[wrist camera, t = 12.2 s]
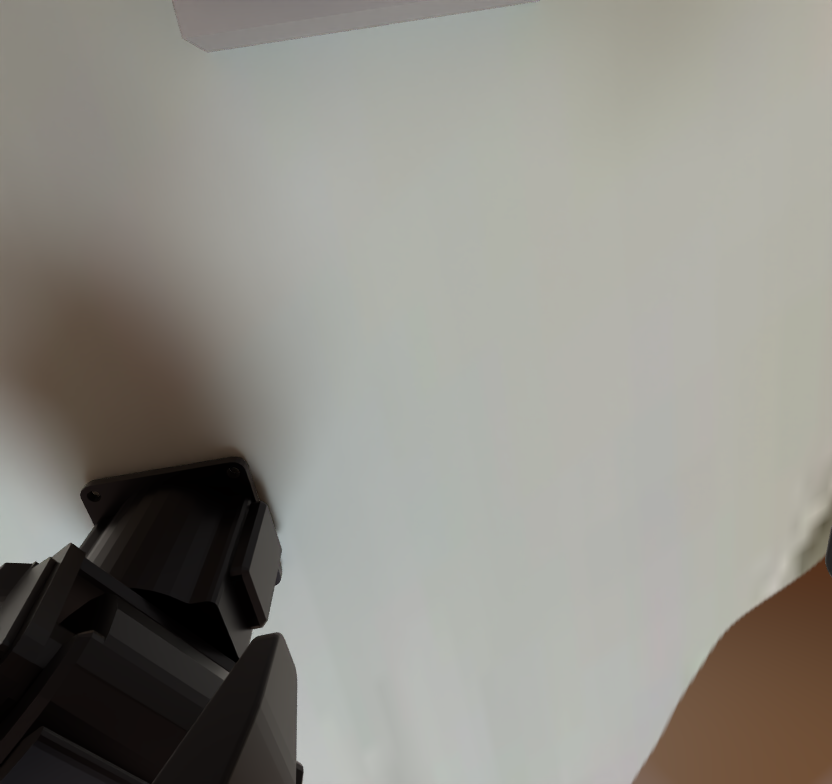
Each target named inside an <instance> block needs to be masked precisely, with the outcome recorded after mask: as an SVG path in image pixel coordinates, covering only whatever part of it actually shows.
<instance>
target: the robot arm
mask: <svg viewBox="0 0 832 784" xmlns="http://www.w3.org/2000/svg"><path fill="white" fill-rule="evenodd" d="M231 467H233V468H237V469H238V470H239V471H240V472H238V473H234V472H232V471H230V469H229V468H231ZM92 491H95V492H98V493H99V494H100V495H101V496H97V495H95V494H93V492H92ZM80 496H81V499H82V501H83V503H84V505H85V507H86V509H87V511H88V513H89V515H90V517H91V519H92V521H93V523H94V528H93V529H92V531H91V532H90V533H89V535H88V536H87V538H86V539H85V541H84V542H83V543H82V545H81V546H80V548H78V547H77V546H75V545H74V544H72V543H69V544H68V545H67V546H65V547H64V548H63V549H61V550H60V551H59V552H58V553H56V554H55V555H54V556H53V557H49V558H47V559H46V560H44V561H43V562H41V563H40V564H39V563H37V562H36V561H35V562H34V563H33V564H27V563H5V564H3V565H2V566H1V567H0V784H302V782H303V766H302V764H301V763H299V762H298V761H296V739H297V673H296V668H295V665H294V662H293V660H292V657H291V654H290V652H289V649H288V647H287V644H286V641H285V639H284V637H283V635H282V634H281V633H277V632H276V633H271V634H266V635H261V636H257V637H255V638H254V639H253V640H252V641H251V643H250V639H251V635H252V631H253V629H256V628H262V627H263V626H264V625H265V623H266V622H267V620H268V616H269V611H270V606H271V601H272V597H273V592H274V587H275V585H277V584H278V583H279V582H280V580H281V576H282V568H281V565H280V557H281V552H282V548H281V545H280V542H279V539H278V536H277V533H276V530H275V526H274V523H273V520H272V517H271V514H270V511H269V508H268V505H267V504H266V503H264V502H263V501H259V498H258V495H257V492H256V488H255V485H254V482H253V479H252V476H251V473H250V470H249V467H248V465H247V463H246V461H244V460H243V459H242V458H239V457H228V458H222V459H216V460H211V461H205V462H199V463H193V464H187V465H181V466H175V467H169V468H163V469H157V470H151V471H146V472H140V473H134V474H128V475H122V476H116V477H110V478H104V479H98V480H93V481H90V482H89V483H87V484H86V486H85V487H84V488H83V489H82V491H81V494H80ZM825 563H826V567H827V570H828V572H829V574H830V575H831V577H832V527H831V530H830V536H829V541H828V546H827V551H826V556H825Z"/></svg>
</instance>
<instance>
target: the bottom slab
mask: <svg viewBox="0 0 832 784" xmlns="http://www.w3.org/2000/svg"><path fill="white" fill-rule="evenodd" d="M537 1H540V0H172V2H173V6H174V10H175V13H176V17H177V20H178V24H179V28H180V31H181V35H182V38H183V39H185V40H186V41H188V42H190V43H192V44H193V45H195V46H197V47H199V48H200V49H202V50H204V51H206V52H214V51H220V50H227V49H233V48H240V47H246V46H253V45H259V44H266V43H272V42H279V41H285V40H292V39H298V38H305V37H311V36H317V35H324V34H330V33H337V32H343V31H350V30H356V29H363V28H369V27H376V26H382V25H389V24H395V23H402V22H408V21H415V20H421V19H427V18H434V17H440V16H447V15H453V14H460V13H466V12H473V11H479V10H486V9H492V8H499V7H505V6H512V5H518V4H525V3H531V2H537Z"/></svg>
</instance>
